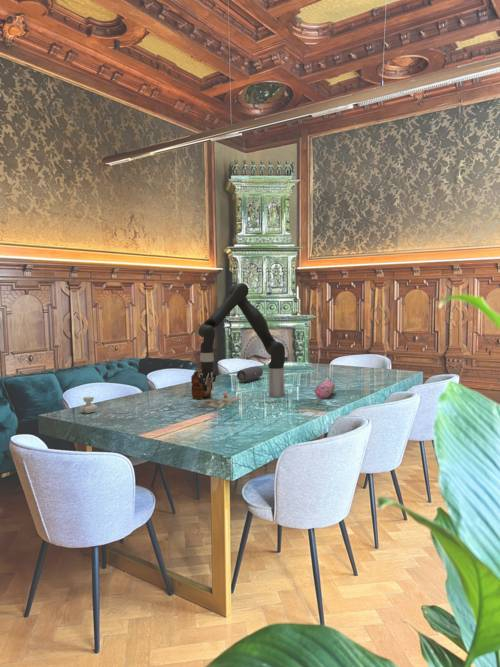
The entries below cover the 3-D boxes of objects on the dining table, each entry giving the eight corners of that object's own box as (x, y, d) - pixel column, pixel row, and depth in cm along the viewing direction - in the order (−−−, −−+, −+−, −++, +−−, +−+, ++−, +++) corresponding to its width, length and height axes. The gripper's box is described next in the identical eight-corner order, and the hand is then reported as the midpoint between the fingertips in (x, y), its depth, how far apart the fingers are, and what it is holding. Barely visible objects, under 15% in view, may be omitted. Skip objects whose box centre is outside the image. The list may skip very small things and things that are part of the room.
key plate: (229, 397, 274) (229, 390, 273) (239, 399, 269) (239, 391, 269) (220, 400, 267) (220, 392, 267) (231, 401, 262) (230, 394, 262)
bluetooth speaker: (247, 384, 318) (246, 369, 318) (236, 382, 323) (235, 369, 323) (263, 379, 337) (263, 365, 337) (253, 378, 342) (253, 364, 342)
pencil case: (321, 392, 286) (321, 378, 285) (335, 392, 282) (335, 378, 282) (314, 399, 266) (313, 384, 265) (329, 400, 262) (329, 384, 262)
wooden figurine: (195, 400, 268) (194, 370, 266) (191, 398, 273) (190, 369, 272) (213, 398, 274) (212, 368, 273) (208, 396, 279) (207, 367, 278)
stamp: (93, 410, 249) (93, 394, 248) (99, 411, 244) (99, 396, 244) (78, 413, 243) (77, 397, 242) (83, 415, 238) (83, 399, 237)
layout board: (215, 400, 267) (215, 398, 267) (234, 403, 258) (234, 400, 258) (199, 405, 256) (199, 402, 256) (218, 408, 247) (218, 405, 247)
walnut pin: (207, 391, 259) (207, 378, 258) (212, 392, 256) (212, 378, 256) (202, 393, 256) (202, 379, 255) (208, 393, 253) (207, 379, 253)
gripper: (203, 362, 247) (204, 393, 248) (220, 359, 258) (220, 389, 259) (193, 361, 251) (194, 391, 253) (210, 358, 263) (211, 387, 264)
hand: (207, 390), depth 256 cm, fingers closed on walnut pin, 4 cm apart
